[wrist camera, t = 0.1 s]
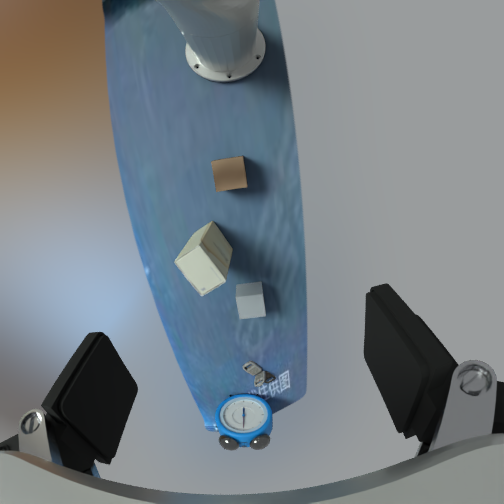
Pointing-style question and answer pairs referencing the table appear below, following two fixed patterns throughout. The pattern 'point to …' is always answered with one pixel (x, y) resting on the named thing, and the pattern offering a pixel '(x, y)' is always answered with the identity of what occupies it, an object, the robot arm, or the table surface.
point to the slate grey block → (250, 300)
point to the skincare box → (205, 259)
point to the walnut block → (229, 173)
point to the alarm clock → (244, 422)
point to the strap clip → (256, 369)
